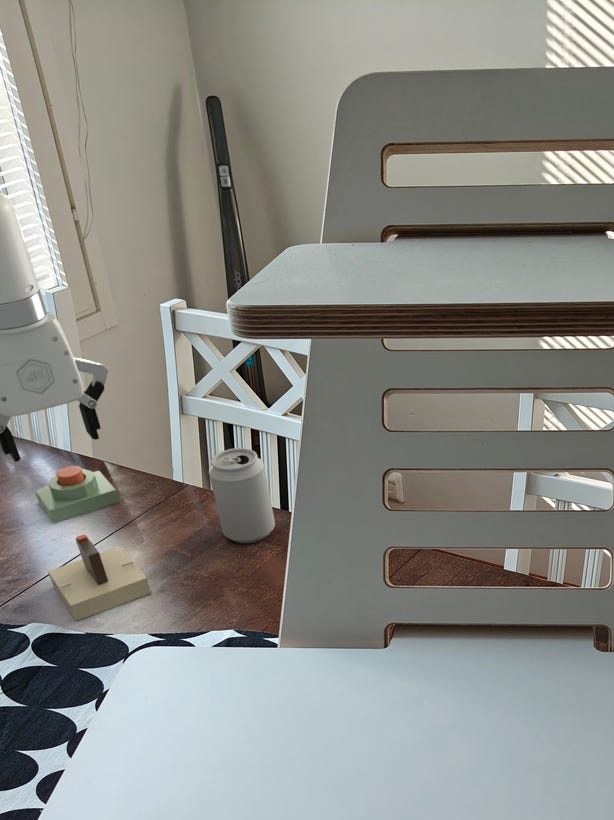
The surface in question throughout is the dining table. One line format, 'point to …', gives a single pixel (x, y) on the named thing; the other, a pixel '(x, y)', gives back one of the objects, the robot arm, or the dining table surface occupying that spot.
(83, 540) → the thumbturn
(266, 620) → the dining table surface
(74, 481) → the button
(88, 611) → the plate
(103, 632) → the dining table surface
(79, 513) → the button base
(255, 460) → the can
